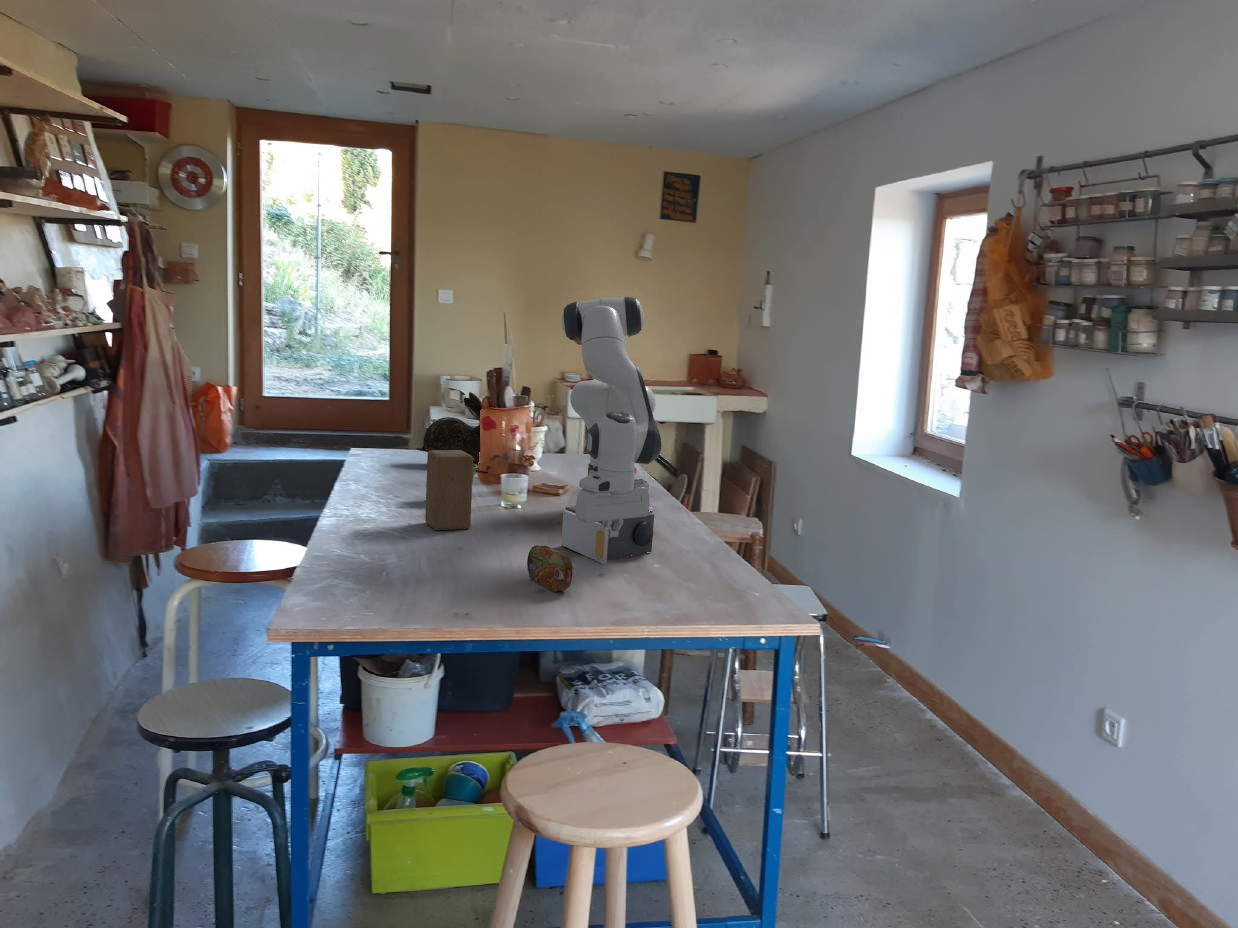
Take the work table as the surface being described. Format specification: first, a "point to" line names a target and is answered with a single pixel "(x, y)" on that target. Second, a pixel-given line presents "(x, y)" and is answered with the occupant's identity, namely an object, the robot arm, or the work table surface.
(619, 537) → the cabinet body
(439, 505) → the wooden block
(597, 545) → the door
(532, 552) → the tin
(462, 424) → the sculpture
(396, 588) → the work table surface
